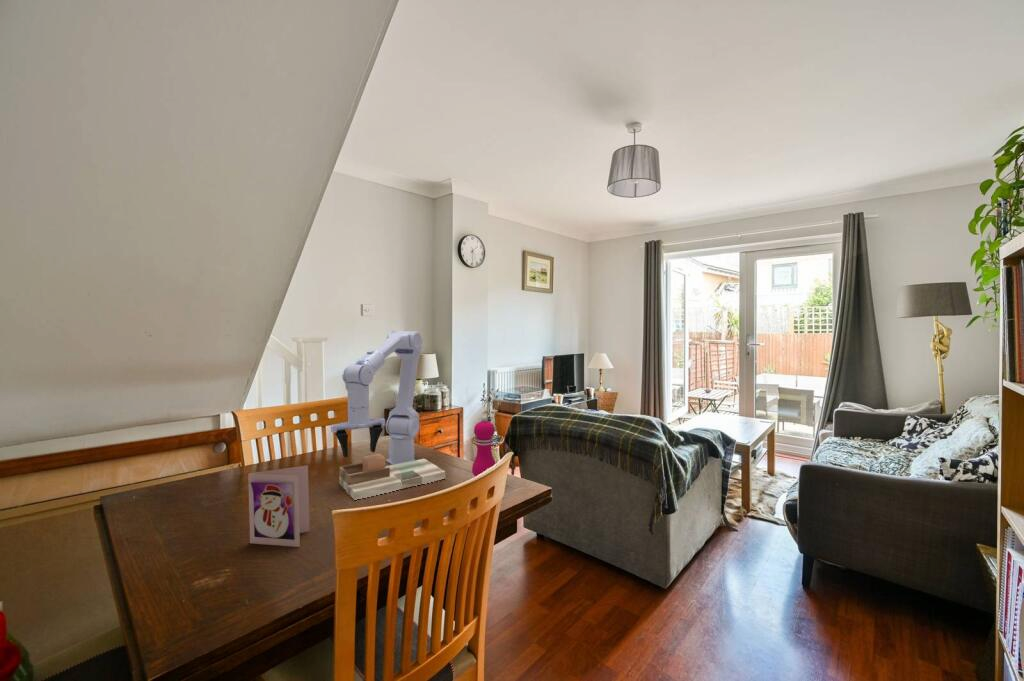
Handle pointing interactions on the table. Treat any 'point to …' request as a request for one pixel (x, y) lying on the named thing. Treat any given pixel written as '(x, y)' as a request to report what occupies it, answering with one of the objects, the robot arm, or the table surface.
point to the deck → (396, 479)
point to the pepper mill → (483, 446)
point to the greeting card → (279, 506)
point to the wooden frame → (361, 474)
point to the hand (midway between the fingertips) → (359, 453)
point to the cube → (373, 462)
